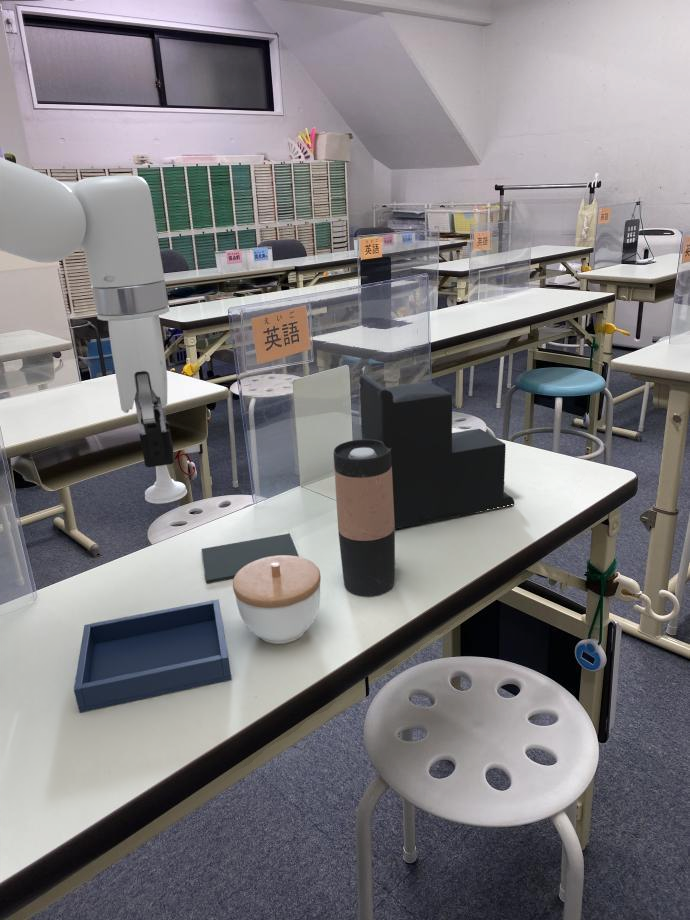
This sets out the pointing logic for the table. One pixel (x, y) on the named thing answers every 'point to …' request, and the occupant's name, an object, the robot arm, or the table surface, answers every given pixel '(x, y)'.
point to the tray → (151, 655)
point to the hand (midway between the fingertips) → (159, 459)
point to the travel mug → (365, 516)
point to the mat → (243, 555)
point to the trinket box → (278, 597)
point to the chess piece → (164, 488)
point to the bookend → (432, 453)
